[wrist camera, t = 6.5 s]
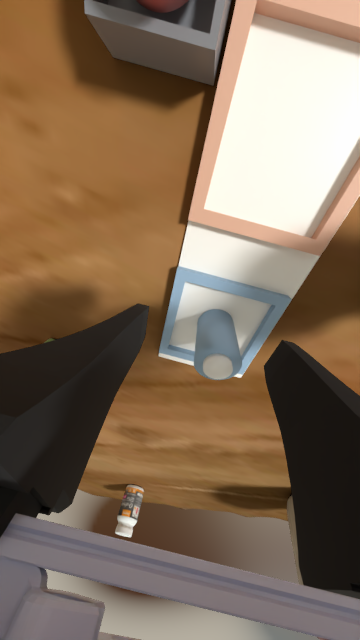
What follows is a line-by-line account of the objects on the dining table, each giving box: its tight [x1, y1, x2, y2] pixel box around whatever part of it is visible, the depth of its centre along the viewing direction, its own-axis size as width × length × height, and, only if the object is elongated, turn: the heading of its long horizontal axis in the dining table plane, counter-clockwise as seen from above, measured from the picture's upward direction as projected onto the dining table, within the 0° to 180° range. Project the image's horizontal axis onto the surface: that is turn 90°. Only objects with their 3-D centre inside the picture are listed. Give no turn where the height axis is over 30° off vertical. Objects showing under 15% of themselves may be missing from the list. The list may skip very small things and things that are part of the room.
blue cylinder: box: [194, 309, 242, 380], centre depth 17 cm, size 4×4×7 cm
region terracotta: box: [188, 0, 360, 256], centre depth 12 cm, size 11×11×1 cm
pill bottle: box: [115, 485, 144, 537], centre depth 53 cm, size 6×6×10 cm
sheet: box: [158, 13, 360, 378], centre depth 16 cm, size 12×29×1 cm, turn 167°
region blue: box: [159, 266, 292, 375], centre depth 20 cm, size 11×11×1 cm
